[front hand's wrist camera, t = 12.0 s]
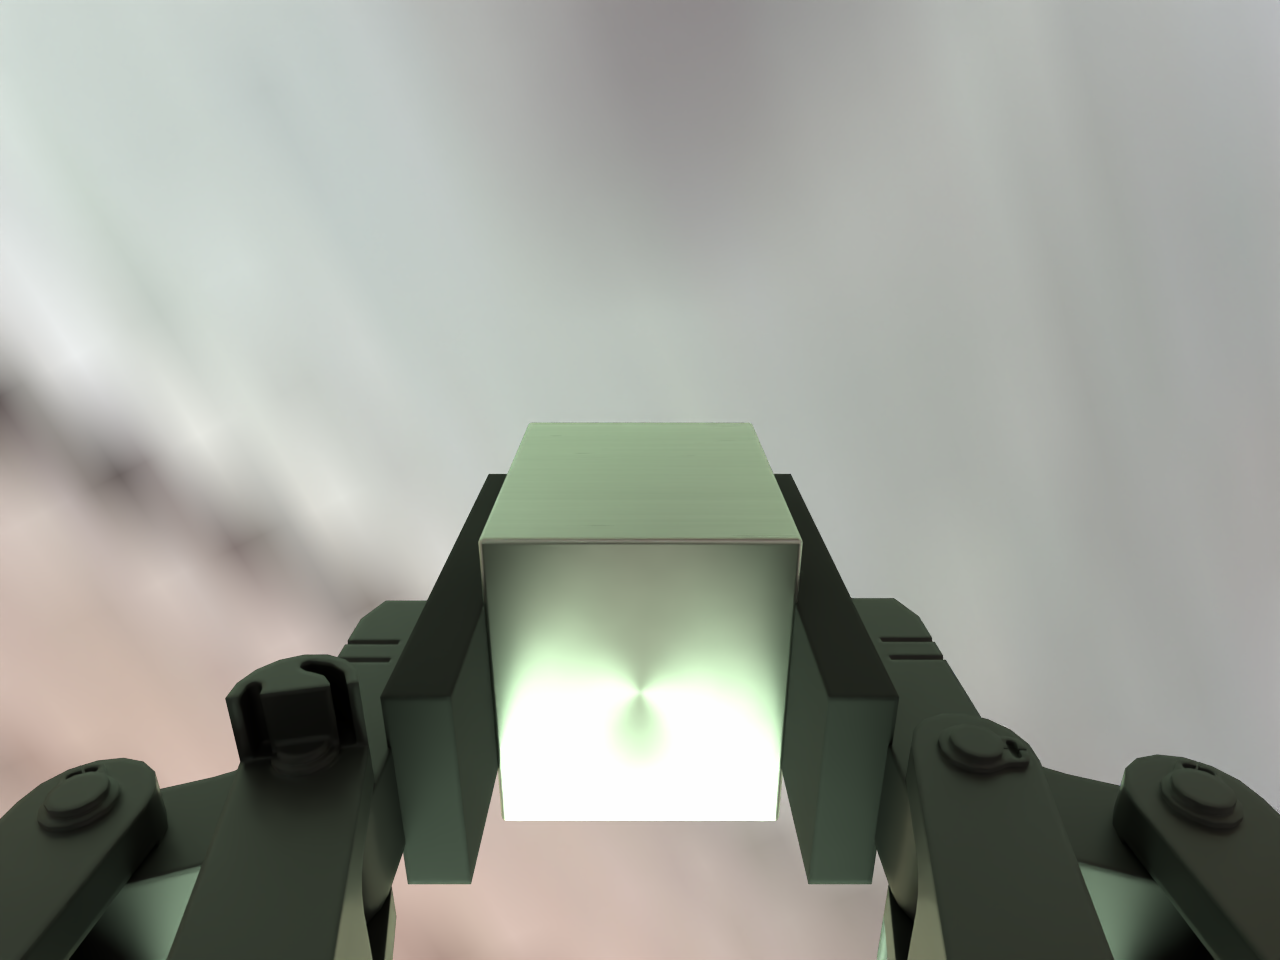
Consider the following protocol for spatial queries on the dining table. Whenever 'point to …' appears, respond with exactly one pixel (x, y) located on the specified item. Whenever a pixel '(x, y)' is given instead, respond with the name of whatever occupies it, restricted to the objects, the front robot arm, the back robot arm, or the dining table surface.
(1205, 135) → the dining table surface
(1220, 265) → the dining table surface
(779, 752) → the block
